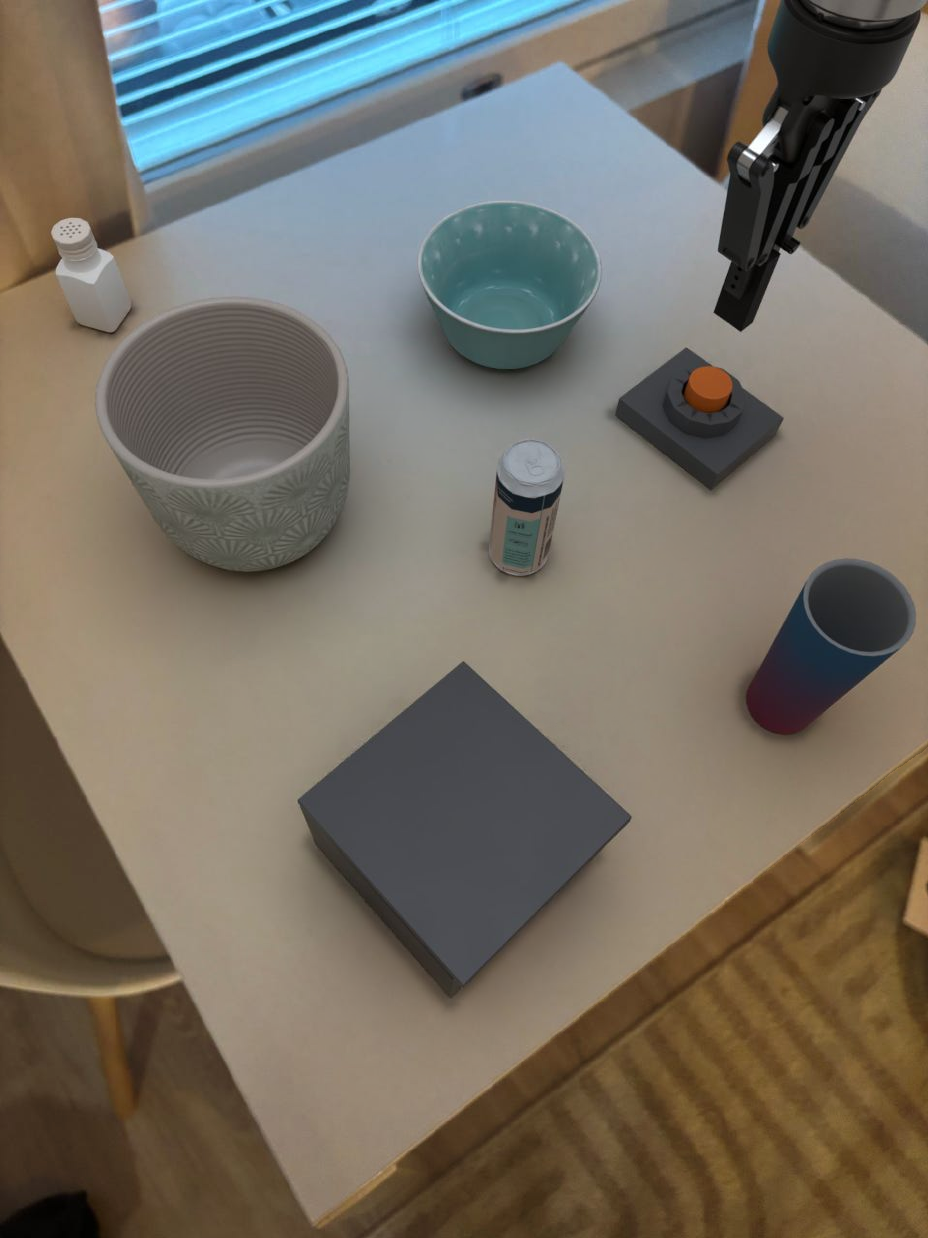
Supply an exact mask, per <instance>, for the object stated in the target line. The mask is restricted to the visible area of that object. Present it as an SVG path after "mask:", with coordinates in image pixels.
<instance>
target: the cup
mask: <svg viewBox="0 0 928 1238" xmlns="http://www.w3.org/2000/svg"><path fill="white" fill-rule="evenodd" d="M916 624H917V612H916V606H915V603H914V601H913V598H912V596H911V594H910V593H909V591H908V589H907V588H906V586H905V585H904V584H903V583H902V582H901V581H900V580H899V579H898V578H897V577H896V576H895V575H894V574H892V573H891V572H890V571H888V570H887V569H885V568H883V567H882V566H880V565H878V564H875V563H874V562H870V561H868V560H863V559H859V558H849V557H847V558H845V557H844V558H837V559H833V560H829V561H826V562H824V563H823V564H821V565H819V566H817V568H816V569H815V570H813V571H812V572H811V573H810V574H809V577H808V578H807V579H806V581H805V583H804V585H803V586H802V588H801V590H800V592H799V594H798V596H797V598H796V599H795V601H794V603H793V605H792V607H791V609H790V611H789V612H788V614H787V615H786V618H785V619H784V621H783V623H782V625H781V627H780V629H779V631H778V632H777V634H776V636H775V638H774V639H773V641H772V643H771V645H770V646H769V649H768V651H767V653H766V655H765V656H764V658H763V660H762V662H761V663H760V665H759V667H758V668H757V671H756V673H755V675H754V677H753V678H752V680H751V682H750V684H749V685H748V688H747V690H746V695H745V696H746V697H745V699H746V700H745V701H746V706H747V709H748V712H749V713H750V716H751V717H752V718H753V720H754V721H755V722H756V723H757V724H758V725H759V726H760V727H762V728H764V729H765V730H767V731H769V732H770V733H774V734H778V735H787V736H788V735H794V734H797V733H799V732H801V731H803V730H804V729H806V728H807V727H808V726H809V725H810V724H812V723H813V722H814V721H815V720H816V719H818V718H819V717H820V716H821V715H823V714H824V713H825V712H826V711H827V710H828V709H830V708H831V707H832V706H833V705H834V704H836V703H837V702H838V701H839V700H840V699H842V698H843V697H844V696H845V695H846V694H848V693H849V692H851V691H852V690H853V688H855V687H856V686H857V685H858V684H860V683H861V682H862V681H864V680H865V679H866V678H867V677H868V676H869V675H871V674H872V673H873V672H874V671H876V669H877V668H879V667H881V665H883V663H885V662H886V661H887V660H889V659H890V658H891V657H892V656H893V655H895V653H897V652H898V651H899V650H901V649H902V648H903V647H904V646H905V645H906V644H907V643H908V642H909V640H910V639H911V637H912V636H913V634H914V632H915V628H916Z"/></svg>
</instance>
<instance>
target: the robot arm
mask: <svg viewBox="0 0 928 1238" xmlns="http://www.w3.org/2000/svg"><path fill="white" fill-rule="evenodd" d="M927 3H928V0H780V2H779V4H778V8H777V11H776V14H775V17H774V20H773V23H772V26H771V30H770V33H769V36H768V40H767V45H766V47H767V48H766V49H767V55H768V59H769V61H770V64H771V66H772V68H773V71H774V73H775V77H776V81H777V86H776V87H775V89H774V91H773V93H772V94H771V96H770V98H769V101H768V102H767V105H766V106H765V108H764V111H763V112H762V117H761V122H762V129H761V130H760V131H759V133H758V134H757V135H756V136H755V138H753V140H752V142H750V144H748V143H746V144H744V142H742V141H740V140H739V141H736V142H735V143H734V144H732V146H731V148H730V149H729V151H728V153H727V156H726V162H727V167H728V170H729V179H728V186H727V191H726V198H725V203H724V208H723V209H724V210H723V214H722V221H721V227H720V233H719V240H718V246H717V253H719V254H720V255H722V256H723V257H724V258H726V259H727V260H728V261H730V264H729V267H728V269H727V272H726V275H725V278H724V281H723V284H722V287H721V290H720V292H719V294H718V298H717V301H716V304H715V306H714V310H713V311H712V313H713V314H715V315H716V316H717V317H719V318H720V319H721V320H723V321H724V322H726V323H727V324H728V325H730V326H731V327H733V328H734V329H736V330H737V331H738V332H740V333H742V332H743V331H744V330H745V329H747V327H750V325H752V324H753V323H754V321H755V318H756V316H757V313H758V311H759V308H760V306H761V304H762V301H763V298H764V296H765V294H766V292H767V289H768V286H769V284H770V282H771V279H772V277H773V274H774V271H775V269H776V266H777V265H778V262H779V260H780V257H781V254H782V253H781V252H780V250H783V252H786V253H787V254H789V255H792V254H794V253H795V252H796V251H797V250H798V249H799V247H800V246H801V244H802V243H801V241H800V240H799V239H797V238H795V237H794V234H795V232H796V230H797V229H799V230H803V229H804V228H806V226H808V224H809V223H810V221H811V218H812V217H813V214H814V213H815V211H816V209H817V207H818V205H819V204H820V201H821V199H822V197H823V195H824V193H825V191H826V190H827V188H828V186H829V184H830V182H831V181H832V178H833V176H834V175H835V173H836V171H837V169H838V167H839V165H840V163H841V161H842V159H843V158H844V155H845V154H846V152H847V150H848V148H849V146H850V144H851V143H852V140H853V138H854V137H855V135H856V133H857V131H858V129H859V127H860V126H861V123H862V122H863V120H864V118H865V117H866V116H867V114H868V112H869V111H870V109H871V108H872V106H873V105H874V103H875V102H876V100H877V99H878V97H879V96H880V94H881V93H882V90H883V89H884V88H885V87H886V86H888V85H889V84H890V83H891V82H892V81H893V79H894V78H895V77H896V75H897V74H898V71H899V69H900V66H901V64H902V63H903V59H904V57H905V55H906V53H907V51H908V49H909V46H910V43H912V42H911V41H912V39H913V37H914V35H915V33H916V31H917V28H918V26H919V24H920V21H921V15H922V13H921V9H922V8H923V7H924V6H925V5H926V4H927Z"/></svg>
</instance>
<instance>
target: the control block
mask: <svg viewBox="0 0 928 1238" xmlns="http://www.w3.org/2000/svg"><path fill="white" fill-rule="evenodd" d="M705 366H710V367H716V368H718V369H721V370H723V371H724V372H725V373H727V374H728V375H729V377H730V378H731V380H732V390H731V393H730V395H729V398H728V400H727V403H726V405H725V406H724V408H722V409H721V410H720V411H718V412H714V413H705V412H701V411H697V410H695V409H694V408H692V407H691V406H690V405H689V404H688V403H687V401H686V399H685V395H684V393H685V389H686V386H687V383H688V381H689V378H690V375H691V373H692V372H693V371H694V370H696V369H698V368H700V367H705ZM614 415H615V416H616V417H617V418H618V419H619V420H621V421H622V422H623V423H624V424H626V425H627V426H628V427H630V428H631V429H632V430H634V431H635V432H636V433H637V434H639V435H640V436H641V437H643V438H644V439H645V440H646V441H647V442H649V443H650V444H651V445H652V446H654V447H655V448H656V449H658V450H659V451H660V452H662V453H663V454H664V455H665V456H667V457H668V458H669V459H670V460H672V461H673V462H675V464H677V465H678V466H679V467H681V468H682V469H683V470H684V471H686V472H687V473H688V474H689V475H691V476H692V477H693V478H694V479H696V480H697V481H698V482H700V483H701V484H702V485H703V486H705V487H706V488H708V490H710V491H711V490H713V489H714V488H716V486H718V485H719V484H720V483H721V482H722V481H724V479H726V478H727V477H728V476H729V475H731V474H732V473H733V472H734V471H736V469H738V468H739V467H740V466H741V465H742V464H743V463H745V461H747V460H748V459H749V458H750V457H752V456H753V455H754V454H755V453H756V452H757V451H758V450H759V449H761V448H762V447H764V445H766V444H767V443H768V442H769V441H770V440H772V439H773V438H774V437H775V436H776V435H777V433H778V431H779V429H780V427H781V425H782V423H783V422H784V417H783V416H782V415H780V414H779V413H778V412H777V411H775V410H774V409H772V408H771V407H770V406H768V405H767V404H766V403H764V402H763V401H761V400H760V399H758V397H756V396H755V395H753V394H752V393H751V392H749V391H748V390H746V389H745V388H743V386H742V384H741V382H740V381H739V379H738V378H737V377H735V376H733V374H731V373H730V372H728V371H727V370H725V369H724V368H721V367H718V366H713V365H712V364H710V363H709V362H708V361H706V359H704V358H702V357H701V356H700V355H699V354H697V353H695V352H694V351H693V350H691V349H690V348H689V347H687V346H686V347H684V348H683V349H682V350H680V351H679V352H678V353H676V354H675V355H674V356H673V357H671V358H670V359H669V360H668V361H666V362H664V364H662V365H661V366H659V367H658V368H657V369H656V370H655V371H653V372H652V373H650V374H649V375H648V376H646V377H645V378H644V379H642V381H640V382H639V383H637V384H636V385H635V386H634V387H632V388H631V389H629V390H628V391H627V392H626V393H624V394H622V396H620V397H619V398H618V402H617V406H616V410H615V413H614Z"/></svg>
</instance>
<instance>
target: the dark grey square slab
mask: <svg viewBox="0 0 928 1238" xmlns="http://www.w3.org/2000/svg"><path fill="white" fill-rule="evenodd" d="M297 803H298V805H299V807H300V806H301V807H302V809H303V810H304V811H305V812H306V813H307V814H308V815H309V816H310V817H311V819H312V820H313V821H314V822H315V823H316V824H317V825H318V826H319V828H320V829H321V830H322V831H323V832H324V833H325V834H326V835H327V837H328V838H329V839H330V840H331V841H332V842H333V843H334V844H335V845H336V847H337V848H338V849H339V850H340V851H341V852H342V853H343V854H344V856H345V857H346V858H347V859H348V860H349V861H350V862H351V863H352V865H353V866H354V867H355V868H356V869H357V870H358V871H359V872H360V873H361V875H362V876H363V877H364V878H365V879H366V880H367V881H368V882H369V884H370V885H371V886H372V887H373V888H374V889H375V890H376V891H377V893H378V894H379V895H380V896H381V897H382V898H383V899H384V900H385V901H386V903H387V904H388V905H389V906H390V907H391V908H392V909H393V910H394V912H395V913H396V914H397V915H398V916H399V917H400V918H401V919H402V921H403V922H404V923H405V924H406V925H407V926H408V927H409V928H410V929H411V931H412V932H413V933H414V934H415V935H416V936H417V937H418V938H419V940H420V941H421V942H422V943H423V944H424V945H425V946H426V947H427V949H428V950H429V951H430V952H431V953H432V954H433V955H434V956H435V957H436V959H437V960H438V961H439V962H440V963H441V964H442V965H443V966H444V968H445V969H446V970H447V971H448V972H449V973H450V974H451V975H452V977H453V978H454V979H455V980H456V981H457V982H458V983H459V984H460V985H461V987H462V988H463V989H464V988H466V986H468V985H469V984H470V982H472V981H473V980H474V978H476V977H477V975H478V974H480V972H481V971H483V970H484V968H485V967H487V966H488V964H490V963H491V961H492V960H494V959H495V957H497V956H498V954H499V953H500V952H502V951H503V950H504V948H505V947H506V946H508V944H509V943H511V942H512V940H514V939H515V938H516V936H518V935H519V934H520V933H521V931H523V930H524V928H525V927H527V925H529V923H530V922H532V920H533V919H535V918H536V916H537V915H538V914H539V913H541V911H543V909H545V907H546V906H548V904H550V903H551V901H553V899H554V898H556V897H557V895H558V894H560V893H561V892H562V890H564V888H566V887H567V885H569V884H570V882H571V881H572V880H573V879H574V878H575V877H576V876H577V875H578V874H580V873H581V872H582V871H583V869H584V868H586V866H587V865H588V864H590V863H591V861H592V860H593V859H594V858H595V857H596V856H598V854H599V853H600V852H601V851H602V850H603V849H604V848H606V847H607V845H608V844H610V842H611V841H612V840H614V838H615V837H616V836H617V835H619V833H621V831H622V830H624V829H625V828H626V826H627V825H628V824H629V823H630V822H631V820H632V818H633V816H632V815H631V813H629V812H628V811H627V810H626V809H625V808H623V806H621V805H620V804H619V803H618V802H617V801H616V800H615V799H614V798H613V797H612V796H610V795H609V794H608V793H607V792H606V791H605V790H604V789H603V788H602V787H601V786H599V785H598V783H596V781H594V780H593V779H592V778H591V777H590V776H589V775H588V774H587V773H586V772H584V771H583V770H582V769H581V768H580V767H579V766H578V765H577V764H576V763H574V761H573V760H571V759H570V757H568V755H566V754H565V753H564V752H563V751H562V750H561V749H560V748H558V746H557V745H556V744H554V743H553V742H552V741H551V740H549V738H548V737H547V736H546V735H544V733H543V732H541V731H540V730H539V729H538V728H537V727H536V726H535V725H534V724H533V723H532V722H530V720H528V719H527V718H526V717H525V716H524V715H523V714H521V713H520V712H519V711H518V710H517V709H516V708H515V707H514V706H513V705H512V704H511V703H510V702H509V701H508V700H506V698H505V697H503V696H502V695H501V694H500V693H499V692H498V691H497V690H496V689H495V688H494V687H492V686H491V685H490V683H488V682H487V681H486V680H485V679H484V678H483V677H482V676H481V675H479V674H478V673H477V672H476V671H475V670H474V669H473V668H472V667H471V666H470V665H469V664H468V663H467V662H465V661H464V660H463V661H461V662H460V663H459V664H458V665H457V666H455V667H454V668H452V670H451V671H449V673H447V674H445V676H443V678H441V679H440V680H439V681H438V682H436V683H435V684H433V686H432V687H430V688H429V689H428V690H427V691H426V692H424V693H423V694H422V695H420V696H419V697H418V698H417V699H416V700H414V701H413V702H412V703H411V704H410V705H409V706H408V707H406V708H405V709H404V710H403V711H402V712H400V713H399V714H398V715H397V716H395V718H393V719H392V720H391V721H390V722H389V723H387V724H386V725H385V726H384V727H383V728H381V729H380V730H379V731H377V732H376V733H375V734H374V735H373V736H372V737H371V738H370V739H367V741H366V742H365V743H364V744H362V745H361V746H360V747H359V748H357V749H356V750H355V751H354V752H353V753H351V754H349V756H348V757H346V758H345V759H344V760H343V761H342V762H340V764H339V765H337V766H336V767H335V768H333V769H332V770H331V771H329V773H327V774H326V775H325V776H324V777H323V778H322V779H320V780H319V781H318V782H317V783H315V784H314V785H312V787H311V788H310V789H308V790H307V791H305V793H303V795H301V796H300V797H299V798H297ZM462 988H461V989H462Z"/></svg>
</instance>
